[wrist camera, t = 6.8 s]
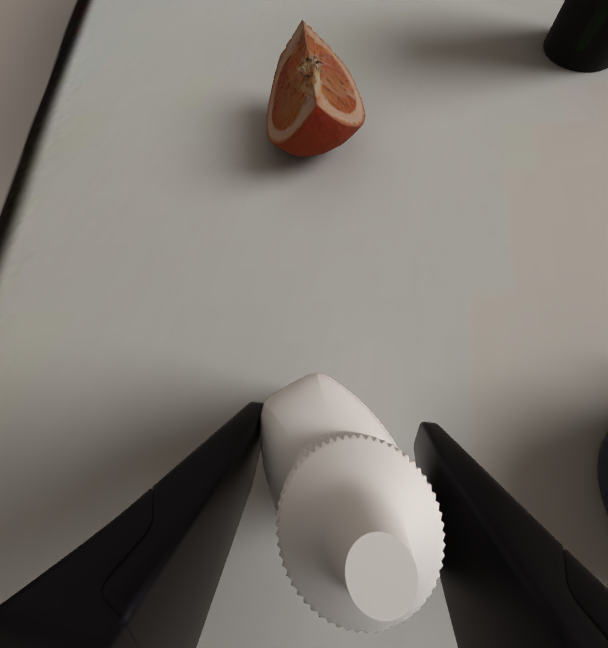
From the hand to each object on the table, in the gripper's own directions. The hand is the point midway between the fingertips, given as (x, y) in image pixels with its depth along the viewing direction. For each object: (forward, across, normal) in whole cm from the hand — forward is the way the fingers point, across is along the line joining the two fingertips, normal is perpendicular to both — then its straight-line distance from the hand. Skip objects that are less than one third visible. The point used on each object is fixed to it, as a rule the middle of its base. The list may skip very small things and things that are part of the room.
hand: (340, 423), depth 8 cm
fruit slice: (+19, +3, -9) cm, 21 cm away
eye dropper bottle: (+4, 0, +6) cm, 7 cm away
